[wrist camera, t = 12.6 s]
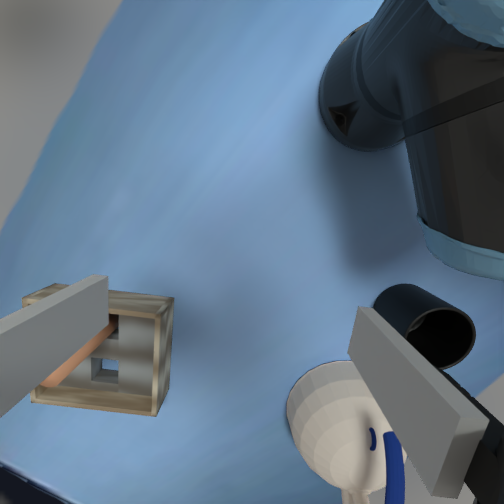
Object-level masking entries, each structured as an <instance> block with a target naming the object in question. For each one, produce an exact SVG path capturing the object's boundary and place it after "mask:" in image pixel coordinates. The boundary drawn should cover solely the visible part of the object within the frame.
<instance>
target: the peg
mask: <svg viewBox="0 0 504 504" xmlns="http://www.w3.org/2000/svg"><path fill="white" fill-rule="evenodd" d="M118 327H119V314H110V313H109V324H108V325H107V326H106V327H105V328H104V329H102V330H101V331H100V332H99V333H98V334H97V335H96V336H94V337H93V338H92V339H91V340H90V341H89V342H87V343H86V344H85V345H84V346H83V347H82V348H81V349H79V350H78V351H77V352H76V353H75V354H74V355H72V356H71V357H70V358H69V359H68V360H67V361H66V362H64V363H63V364H62V365H61V366H60V367H59V368H57V369H56V370H55V371H54V372H53V373H52V374H51V375H49V376H48V377H47V378H46V379H45V380H44V381H42V382H41V383H40V385H42V386H44V387H55V386H57V385H58V384H59V383H60V382H61V381H62V380H64V379H65V378H66V377H67V376H68V375H69V374H70V373H71V372H72V371H73V370H74V369H75V368H76V367H77V366H78V365H79V364H80V363H81V362H82V361H83V360H84V359H85V358H86V357H87V356H89V355H90V354H91V353H92V352H93V351H94V350H95V349H96V348H97V347H98V346H99V345H100V344H101V343H102V342H103V341H104V340H105V339H106V338H107V337H108V336H109V335H110V334H111V333H112V332H114V331H115V330H116V329H117V328H118Z"/></svg>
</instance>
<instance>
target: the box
mask: <svg viewBox="0 0 504 504" xmlns="http://www.w3.org/2000/svg"><path fill="white" fill-rule="evenodd" d="M68 286H70V285H64V284H56V283H55V284H52V285H50V286H48V287H46V288H43V289H41V290H39V291H36V292H34V293H32V294H29V295H27V296H25V297H22V307H23V308H24V307H26V306H29V305H31V304H33V303H35V302H37V301H39V300H41V299H43V298H45V297H47V296H49V295H51V294H54V293H56V292H58V291H60V290H62V289H64V288H66V287H68ZM108 308H109V313H110V314H119V329H116V330H115V331H114V332H112V333H111V334H110V335H109V336H108V337H107V338H106V339H105V340H104V341H103V342H102V343H101V344H100V345H99V346H98V347H97V348H96V349H95V350H94V351H93V352H92V353H91V354H90V355H89V356H87V357H86V358H85V359H84V360H83V361H82V362H81V363H80V364H79V365H78V366H77V367H76V368H75V369H74V370H73V371H72V372H71V373H70V374H69V375H68V376H67V377H66V378H65V379H64V380H62V381H61V382H60V383H59V384H58V385H57V386H55V387H44V386H42V385H40V384H39V385H38V386H37V387H36V388H34V389H33V390H32V391H31V392H30V396H31V403H40V404H48V405H57V406H66V407H75V408H83V409H92V410H101V411H110V412H119V413H127V414H136V415H145V416H154V417H156V416H157V414H158V412H159V410H160V407H161V405H162V403H163V401H164V398H165V396H166V394H167V392H168V390H169V380H170V363H171V345H172V328H173V310H174V298H172V297H163V296H155V295H147V294H139V293H130V292H122V291H114V290H108ZM102 359H110V360H119V371H116V370H107V369H102Z"/></svg>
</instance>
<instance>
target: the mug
mask: <svg viewBox="0 0 504 504" xmlns="http://www.w3.org/2000/svg"><path fill="white" fill-rule="evenodd" d="M374 310H375V311H376V312H377V313H378V314H379V315H380V316H381V317H382V318H383V319H385V320H386V321H387V322H388V323H389V324H390V325H391V326H392V327H393V328H394V329H395V330H396V331H397V332H398V333H399V334H400V335H401V336H402V337H403V338H404V339H405V340H406V341H407V342H409V343H410V344H411V345H412V346H413V347H414V348H415V349H416V350H417V351H418V352H419V353H420V354H421V355H422V356H423V357H424V358H425V359H426V360H427V361H428V362H429V363H430V364H432V365H435V366H436V367H438V368H440V369H441V370H444V369H447V368H450V367H452V366H454V365H456V364H458V363H459V362H461V361H462V360H463V359H464V358H465V357H466V356H467V355H468V354H469V353H470V351H471V350H472V348H473V346H474V343H475V339H476V330H475V326H474V323H473V321H472V320H471V319H470V317H469V316H468V315H467V314H466V313H464V312H463V311H461V310H460V309H458V308H456V307H454V306H452V305H450V304H449V303H447V302H445V301H443V300H441V299H440V298H438V297H436V296H434V295H432V294H431V293H429V292H427V291H425V290H423V289H422V288H420V287H418V286H415V285H411V284H399V285H395V286H393V287H390V288H388V289H387V290H385V291H384V292H383V293H382V294H381V295H380V296H379V297H378V299H377V301H376V303H375V305H374Z"/></svg>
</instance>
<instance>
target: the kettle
mask: <svg viewBox="0 0 504 504" xmlns="http://www.w3.org/2000/svg"><path fill="white" fill-rule="evenodd" d="M287 418H288V421H289V424H290V428H291V432H292V436H293V439H294V442H295V445H296V447H297V449H298V450H299V452H300V454H301V455H302V457H303V458H304V460H305V461H306V463H307V464H308V465H309V467H310V468H311V469H312V470H313V471H314V472H316V473H317V474H318V475H319V476H321V477H322V478H323V479H324V480H326V481H327V482H328V483H329V484H331V485H333V486H336V487H338V488H340V489H341V491H342V502H343V504H370V502H369V498H368V495H370V494H371V492H373V491H376V490H379V489H381V488H383V487H385V486H386V493H385V504H404V500H405V476H404V463H405V461H406V457H407V454H406V452H405V450H404V449H403V447H402V445H401V443H400V442H399V440H398V438H397V437H396V435H395V433H394V431H393V430H392V428H391V426H390V425H389V423H388V421H387V419H386V418H385V416H384V414H383V413H382V411H381V409H380V407H379V406H378V404H377V402H376V401H375V399H374V397H373V396H372V394H371V392H370V390H369V389H368V387H367V385H366V384H365V382H364V380H363V378H362V377H361V375H360V373H359V372H358V370H357V368H356V366H355V365H354V363H353V361H335V362H331V363H327V364H323V365H320V366H318V367H316V368H314V369H312V370H310V371H308V372H307V373H306V374H305V375H304V376H303V377H302V378H300V379H299V380H298V381H297V383H296V384H295V386H294V387H293V389H292V390H291V392H290V395H289V398H288V401H287Z"/></svg>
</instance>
